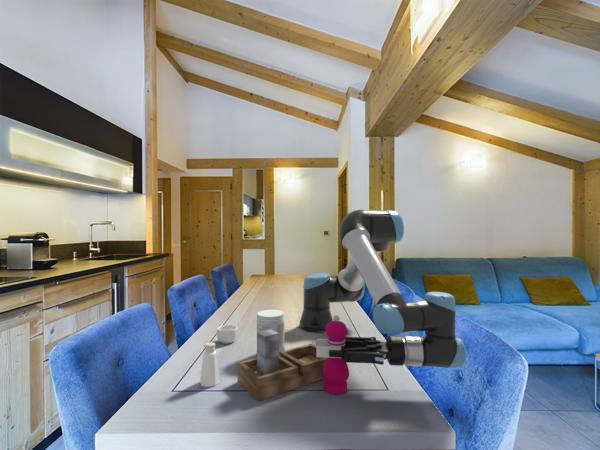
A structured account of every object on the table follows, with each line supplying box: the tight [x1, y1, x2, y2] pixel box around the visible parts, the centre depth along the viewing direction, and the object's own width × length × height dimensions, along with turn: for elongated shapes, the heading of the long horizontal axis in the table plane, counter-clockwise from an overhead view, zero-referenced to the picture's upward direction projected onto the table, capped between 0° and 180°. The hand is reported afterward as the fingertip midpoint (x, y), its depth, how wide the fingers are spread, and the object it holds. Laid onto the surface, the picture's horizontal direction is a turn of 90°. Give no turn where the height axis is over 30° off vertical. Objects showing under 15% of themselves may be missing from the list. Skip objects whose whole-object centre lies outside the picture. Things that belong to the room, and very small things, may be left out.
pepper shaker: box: [199, 341, 220, 388], centre depth 92 cm, size 5×5×11 cm
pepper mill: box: [323, 315, 350, 395], centre depth 89 cm, size 7×7×20 cm
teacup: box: [216, 324, 238, 345], centre depth 126 cm, size 10×8×5 cm
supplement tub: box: [256, 309, 286, 352], centre depth 112 cm, size 10×10×15 cm
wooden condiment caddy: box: [237, 329, 327, 402], centre depth 96 cm, size 30×12×14 cm, turn 126°
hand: (316, 347), depth 89 cm, fingers closed on pepper mill, 5 cm apart
